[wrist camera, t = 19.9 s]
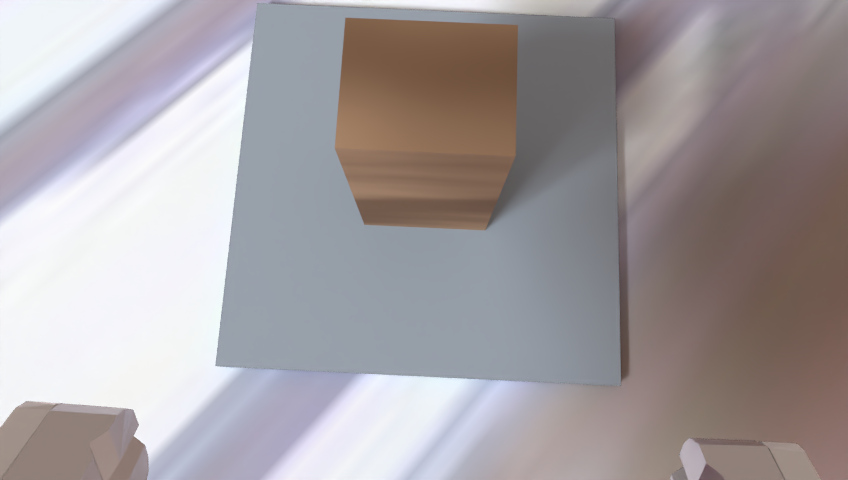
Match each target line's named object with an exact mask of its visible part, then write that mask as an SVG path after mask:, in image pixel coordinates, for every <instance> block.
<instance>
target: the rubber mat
mask: <svg viewBox="0 0 848 480" xmlns="http://www.w3.org/2000/svg"><path fill="white" fill-rule="evenodd" d="M345 18H367V19H390V20H413V21H437V22H460V23H484V24H507V25H518V52H517V109H516V157H515V159H514V161H513V164H512V166H511V169H510V171H509V174H508V176H507V178H506V181H505V183H504V186H503V188H502V191H501V193H500V195H499V198H498V200H497V203H496V205H495V208H494V210H493V213H492V215H491V217H490V220H489V222H488V225H487V227H486V230H465V229H443V228H421V227H399V226H378V225H364V222H363V220H362V217H361V215H360V212H359V209H358V207H357V204H356V202H355V199H354V197H353V194H352V191H351V189H350V186H349V184H348V181H347V179H346V176H345V173H344V171H343V168H342V166H341V163H340V160H339V158H338V155H337V153H336V150H335V138H336V126H337V114H338V102H339V89H340V77H341V65H342V52H343V40H344V28H345ZM216 366H223V367H243V368H263V369H284V370H304V371H324V372H345V373H365V374H386V375H406V376H426V377H447V378H467V379H488V380H508V381H528V382H549V383H569V384H590V385H610V386H621V358H620V300H619V242H618V185H617V127H616V70H615V18H593V17H569V16H546V15H523V14H500V13H476V12H453V11H430V10H407V9H383V8H360V7H337V6H314V5H291V4H267V3H257V10H256V19H255V27H254V36H253V45H252V53H251V62H250V71H249V80H248V88H247V97H246V106H245V114H244V123H243V132H242V140H241V149H240V158H239V166H238V175H237V184H236V192H235V201H234V210H233V218H232V227H231V236H230V244H229V253H228V262H227V270H226V279H225V288H224V296H223V305H222V314H221V322H220V331H219V340H218V348H217V357H216Z"/></svg>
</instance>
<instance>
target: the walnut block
mask: <svg viewBox="0 0 848 480" xmlns="http://www.w3.org/2000/svg"><path fill="white" fill-rule="evenodd" d="M517 52H518V25H507V24H484V23H460V22H437V21H413V20H390V19H367V18H345V28H344V40H343V52H342V65H341V77H340V89H339V102H338V114H337V126H336V138H335V150H336V153H337V155H338V158H339V160H340V163H341V166H342V168H343V171H344V173H345V176H346V179H347V181H348V184H349V186H350V189H351V191H352V194H353V197H354V199H355V202H356V204H357V207H358V209H359V212H360V215H361V217H362V220H363V222H364V225H378V226H399V227H421V228H443V229H465V230H486V227H487V225H488V222H489V220H490V217H491V215H492V213H493V210H494V208H495V205H496V203H497V200H498V198H499V195H500V193H501V191H502V188H503V186H504V183H505V181H506V178H507V176H508V174H509V171H510V169H511V166H512V164H513V161H514V159H515V157H516V109H517Z"/></svg>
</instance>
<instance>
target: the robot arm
mask: <svg viewBox="0 0 848 480" xmlns="http://www.w3.org/2000/svg"><path fill="white" fill-rule="evenodd" d="M138 426H139V424H138V421H137V419H136V416H135V413H134V411H133V410H131V409H125V408H113V407H101V406H88V405H76V404H63V403H46V402H32V401H26V402H25V403H23V404H21V405H20V406H18V407H17V408H15V409H14V410H13V412H12V413H11V414H10V416H9V417H8V418H7V420H6V421H5V422H4V423H3V425H2V426H1V427H0V480H147V476H148V472H149V467H148V454H147V451H146V447H145V445H144V444H143V443H141V442H140V441H139V440H138V439H137V438H135V437H134V436H133V435H134V434H135V432H136V430H137V428H138ZM679 455H680V458H681V461H682V464H683V466H684V467H682V468H680V469H679V470H677V471H676V472H674V473H673V474H672V475H671V478H670V480H821V478H820V477H819V475H818V473H817V471H816V470H815V468H814V466H813V464H812V463H811V461H810V459H809V458H808V456H807V454H806V452H805V451H804V449H802V448H801V447H800V446H799V445H798V444H797V443H781V442H762V441H761V442H757V441H753V440H728V439H704V438H689V439H688V440H687V441H686V442H685V443H684V444H683V447H682V449H681V452H680V454H679Z"/></svg>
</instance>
